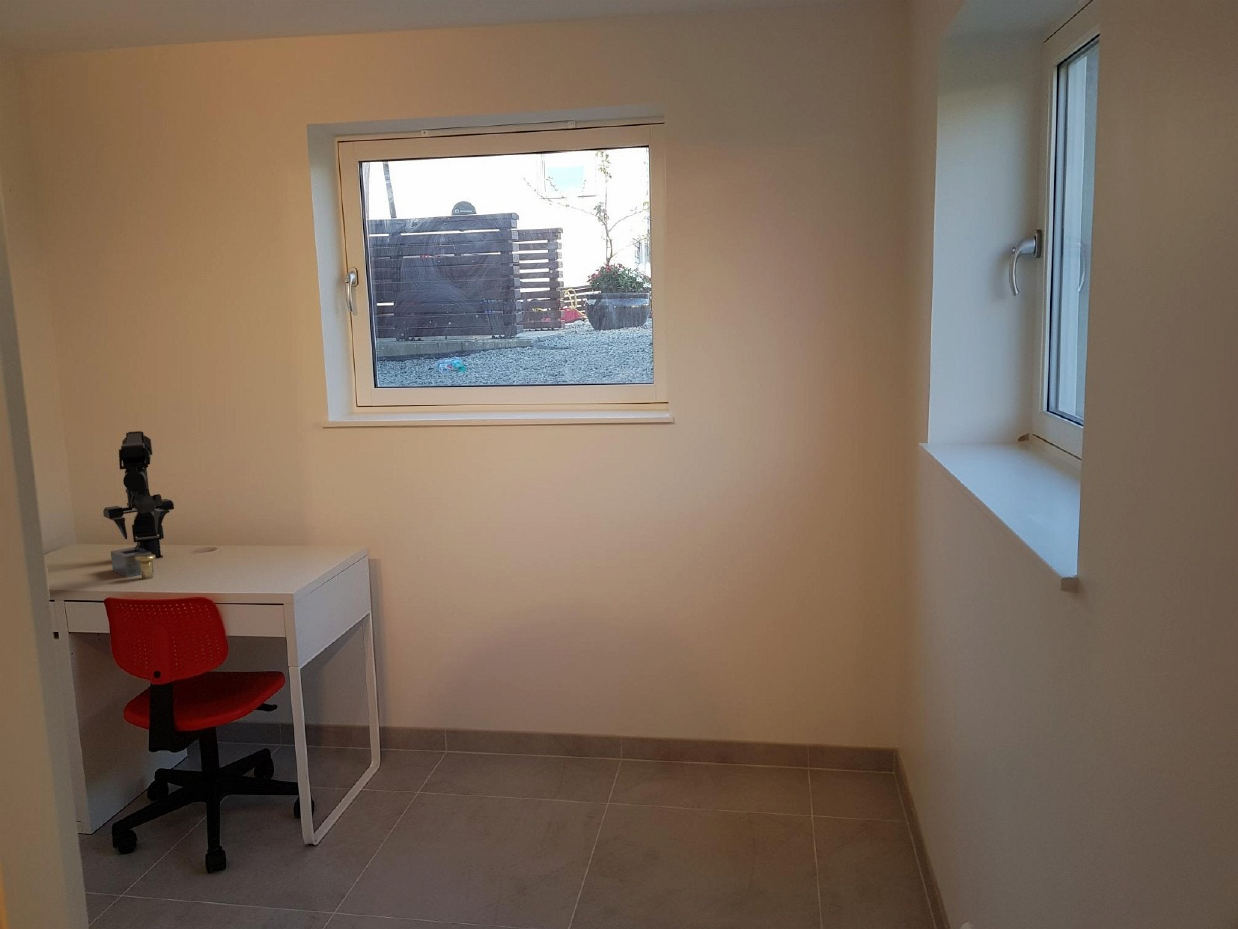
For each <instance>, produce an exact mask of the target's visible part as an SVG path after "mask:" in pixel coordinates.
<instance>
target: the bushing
mask: <svg viewBox="0 0 1238 929" xmlns="http://www.w3.org/2000/svg"><path fill="white" fill-rule="evenodd" d="M155 558H156V557H155V555H154V554H146V555H140V556H137V557H135V561H140V567H141V575H140V576H141V580H150V579H153V578H154V569H153V570H152V563H153V560H155ZM156 559H157V558H156Z"/></svg>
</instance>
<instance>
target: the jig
mask: <svg viewBox="0 0 1238 929" xmlns="http://www.w3.org/2000/svg"><path fill="white" fill-rule="evenodd" d="M146 554H152V553H151V552H150V551H147V550H145V549H142V548H139V547H136V546H134V547H128V548H122V549H121V548H120V549H116V550H111V551H110V558H111V566H112V572H114V573H116V574H118V575H120V576H122V577H124V578H130V577H136V576H141V567H140V561H135V557H137V556H140V555H146ZM152 570H153V571H154V566H153V562H152Z"/></svg>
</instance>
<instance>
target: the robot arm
mask: <svg viewBox="0 0 1238 929" xmlns="http://www.w3.org/2000/svg"><path fill="white" fill-rule="evenodd" d="M125 436H126V437H124V439H122V441H121V446H120V449H118V461H119V464H118V465H119V470H124V475H123V476H124V477H123V479H122V482H123V485H124V487H125V490H124V491H125V494H126V496H127V497H126V498H127V502H126V507H122V506H119V505H115V506H108V507H107V506H106V507H104V509H103V510H102V511H103V512H102V513H103V517H104V518H106V519H109V520H111V521H113V522H114V523H115V525H116V526H117V527H118V530H119V531H120V532H121V533H120V534H122V536H123V538H124V540H128V532H127V527H126V526H127V525H126V517H124V515H125V514H131V513H136V514H135V515H134V519H133V524H131V530H132V532H131V533H132V540H133V544H134V543H136V545H135V547H139V548H142V549H145V550H147V551H150V552H151V553H152V554H154V555H155V557H156V559H161V558H163V557H164V555H162V552H161V551H162V550H161V542H160V541H161V540H163V539H164V538H165V535H164V528H163V525H162V524H163V520H164V518H165V516H166V515H167V514H169V513H171V510H174V509H175V504H174V503H175V502H174V501H173V500H171V499H167V498H162V495H161V494H160V493H158V494H153V495H152V494H150V486H149V476H148V468H149V465H151V460H152V459H151V458H152V457H151V456H153V446H152V441H151V440H152V439H151V438H150V437H148V436H146V435H145V434H144V431H142V430H141V431H140V430H137V431H128V432H125Z"/></svg>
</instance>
